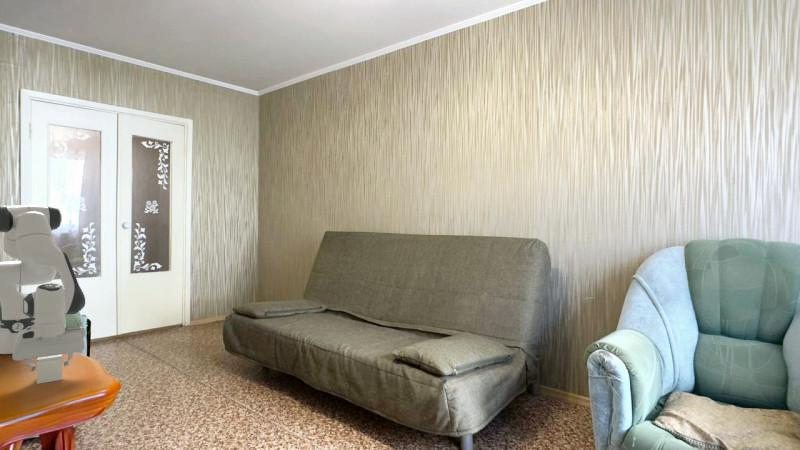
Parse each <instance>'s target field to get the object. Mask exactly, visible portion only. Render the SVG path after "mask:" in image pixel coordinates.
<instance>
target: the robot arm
mask: <svg viewBox="0 0 800 450" xmlns="http://www.w3.org/2000/svg"><path fill="white" fill-rule="evenodd" d="M62 221H63V216H62V213H61V210H60V209H59V208H58V207H57V206H55V205H41V204H26V205H25V204H24V205H23V204H21V205H20V204H19V205H16V204H15V205H0V233H4V236H3V237H4V238H3V251H4V253H5V254H6V255H7V256H9V257H10V258H13V259H16V260H12V261H0V307H1V319H0V355H12V360H14V361H15V362H16V361H23V360H25V363H26V364H27V365H28V367H29V372H33V371H34V372H35V371H36V367H37V364H32V359H37V358H39V357H46V356H54V355H61V354H62V355H66V354H67V358H66V359H65V360H63V367H66V366H67V367H68V366H69V365H70V360H71V359H72V358H73V355H74V353H80V352H81V353H82V352H83V351H84V350H85V340H84V338H85V337H86V333H87V332H86V331H87V330H86V328H85V327H81V326H80V325H79V326H75V327H73V326H70V327H67V326H66V321H67V320H66V316H69V315H76V314H78V313H79V312H81V311H82V310H83V309H84V308H85V306H86V298H85V293H84V292H83V290H82V289H81V287H80V284H79V282H78V278H77V277H76V274H75V271H74V269H73V266H72V263H71V261H70V258H69V257H68V254H67V253H66V251H64V250H62V249H60V248H59V247H58V245H56V243H55V241H54V236H53V232H52V231H55V230H57V229H58V228H59V227H61V224H62ZM57 273H58V275H59V276H58V277H59V279H60V281H61V283H62V284H60V283H51V282H52V281H53V280H54V279H55V278H56V275H57ZM22 286H37V287H36V289H35V291H33V292H30V293H28V294H27V293H24V292H20V291H19V290H17V289H18V287H22Z"/></svg>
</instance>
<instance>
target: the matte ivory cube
mask: <svg viewBox="0 0 800 450" xmlns="http://www.w3.org/2000/svg"><path fill="white" fill-rule="evenodd" d="M62 380H63V354H61V355H54V356H46V357H39V358H36V384H37V385H38V384H45V383H49V382H50V383H51V382H56V381H57V382H58V381H62Z"/></svg>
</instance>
